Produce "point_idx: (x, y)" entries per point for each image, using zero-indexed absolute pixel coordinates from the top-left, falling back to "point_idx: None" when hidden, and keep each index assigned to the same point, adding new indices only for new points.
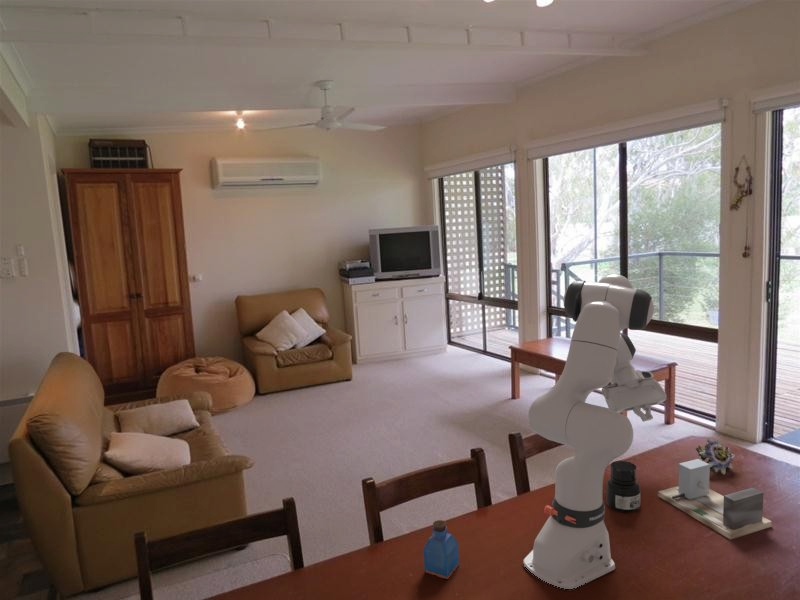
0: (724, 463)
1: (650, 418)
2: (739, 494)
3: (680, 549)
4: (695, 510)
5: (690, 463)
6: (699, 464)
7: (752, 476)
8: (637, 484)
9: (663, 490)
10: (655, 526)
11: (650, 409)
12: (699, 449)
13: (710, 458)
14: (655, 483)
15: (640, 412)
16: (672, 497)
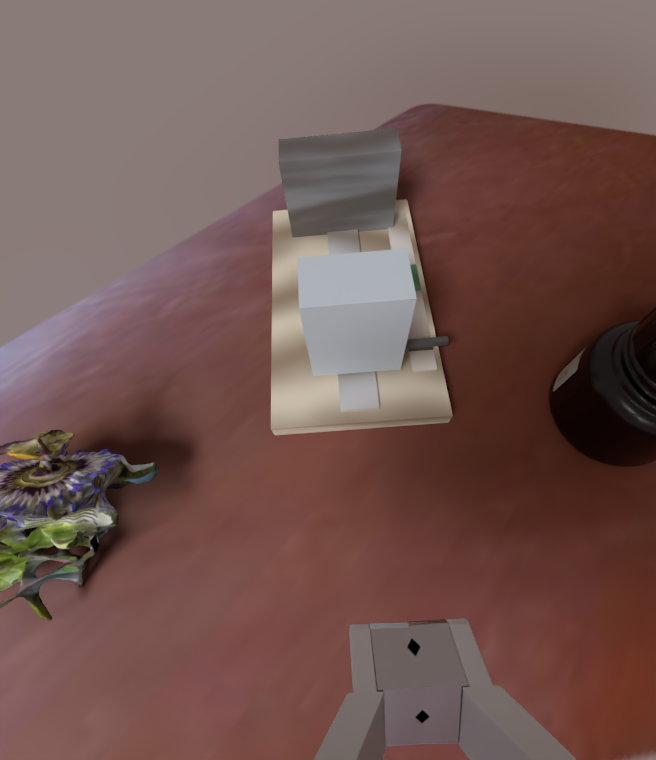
0: (76, 458)
1: (387, 623)
2: (352, 145)
3: (544, 212)
4: (417, 285)
5: (367, 284)
6: (338, 267)
7: (44, 421)
8: (614, 337)
9: (429, 414)
10: (555, 292)
11: (324, 748)
12: (85, 537)
13: (116, 465)
14: (396, 507)
15: (538, 725)
16: (447, 342)
